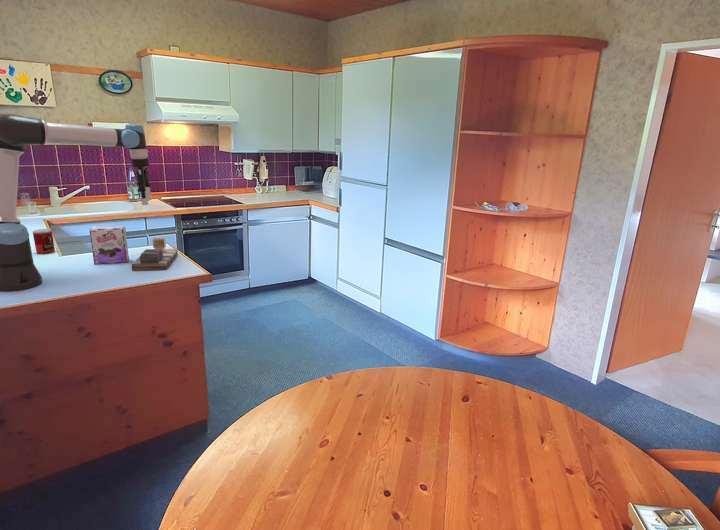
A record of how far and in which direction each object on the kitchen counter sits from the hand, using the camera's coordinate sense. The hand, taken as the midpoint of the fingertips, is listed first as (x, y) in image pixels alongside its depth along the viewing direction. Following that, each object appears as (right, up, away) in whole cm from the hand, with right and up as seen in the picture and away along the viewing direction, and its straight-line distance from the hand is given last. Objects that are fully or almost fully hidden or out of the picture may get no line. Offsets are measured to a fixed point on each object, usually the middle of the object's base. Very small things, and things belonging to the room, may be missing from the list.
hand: (147, 202), depth 222 cm
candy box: (-11, -29, -11) cm, 33 cm away
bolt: (+8, -25, -6) cm, 27 cm away
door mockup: (+9, -29, -11) cm, 33 cm away
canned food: (-51, -24, +3) cm, 57 cm away
